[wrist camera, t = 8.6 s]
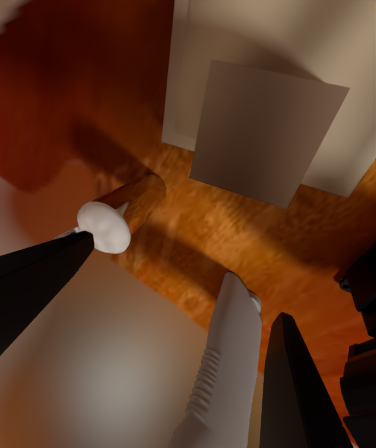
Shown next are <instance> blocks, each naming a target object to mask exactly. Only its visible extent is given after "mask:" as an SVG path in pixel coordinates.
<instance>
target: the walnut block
mask: <svg viewBox="0 0 376 448" xmlns="http://www.w3.org/2000/svg"><path fill="white" fill-rule="evenodd" d="M349 90H350V88H349V87H344V86H339V85H334V84H330V83H325V82H320V81H315V80H310V79H306V78H301V77H296V76H291V75H286V74H282V73H277V72H272V71H267V70H263V69H258V68H253V67H248V66H243V65H239V64H234V63H229V62H224V61H219V60H215V59H211V64H210V69H209V74H208V80H207V85H206V91H205V96H204V101H203V107H202V112H201V118H200V123H199V128H198V134H197V139H196V145H195V150H194V155H193V161H192V166H191V172H190V177H189V178H191V179H194V180H197V181H200V182H203V183H206V184H209V185H212V186H216V187H219V188H222V189H225V190H228V191H231V192H234V193H237V194H240V195H243V196H247V197H250V198H253V199H256V200H259V201H262V202H265V203H268V204H271V205H274V206H277V207H281V208H284V209H287V208H288V206H289V204H290V202H291V200H292V198H293V196H294V194H295V192H296V191H297V189H298V187H299V185H300V183H301V181H302V179H303V177H304V175H305V173H306V172H307V170H308V168H309V166H310V164H311V162H312V160H313V158H314V156H315V154H316V153H317V151H318V149H319V147H320V145H321V143H322V141H323V139H324V137H325V135H326V134H327V132H328V130H329V128H330V126H331V124H332V122H333V120H334V118H335V116H336V115H337V113H338V111H339V109H340V107H341V105H342V103H343V101H344V99H345V97H346V96H347V94H348V92H349Z"/></svg>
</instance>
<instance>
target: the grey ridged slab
mask: <svg viewBox="0 0 376 448" xmlns="http://www.w3.org/2000/svg"><path fill="white" fill-rule="evenodd" d="M260 310H261V301H260V299H259V298H258V296H256V295H255V294H254V293H252V292H250V291H249V290H248V288H247V287H246V286H245V284H244V283H243V281H242V280H241V279H240V277H239V276H238V275H236V274H235V273H233V272H230V271H228V272H227V273H225V276H224V279H223V283H222V286H221V289H220V292H219V295H218V299H217V302H216V305H215V308H214V312H213V315H212V318H211V322H210V325H209V331H208V337H207V344H206V349H205V350H204V355H203V356H202V360H201V365H200V368H199V371H198V374H197V376H196V380H195V382H194V388H193V389H192V394H191V395H190V398H189V399H190V401H189V403H187V406H186V408H185V418H184V419H183V420H182V422H181V423H180V424H179V426H177V428H176V429H175V430H174V432H173V435H172V438H171V440H170V443H169V446H168V448H247V440H248V428H249V419H250V412H251V405H252V397H253V392H254V387H255V382H256V376H257V367H258V358H259V349H260V339H261V330H262V319H261V316H260Z"/></svg>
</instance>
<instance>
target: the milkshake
mask: <svg viewBox="0 0 376 448" xmlns="http://www.w3.org/2000/svg"><path fill="white" fill-rule="evenodd" d="M165 197H166V186H165V184H164V183H163V181H162V179H161V178H159V177H158V176H156V175H154V174H144V175H142V176H140V177H138V178H136V179H134V180H132V181H130V182H129V183H127V184H125V185H123V186H121V187H119V188H117V189H115V190H113V191H111V192H109V193H107V194H105V195H103V196H101V197H99V198H97V199H95V200H93V201H91V202H89V203H86V204H84V205H83V206H82V208H81V209H80V210H79V212H78V215H77V220H78V224H79V226H78V227H76V228H74V229H72V230H70V231H68V232H66V233H64V234H62V235H60V236H58V237H56V238H55V239H58V238H61V237H64V236H68V235H71V234H74V233H77V232H81V231H88V232H91V233H92V234H93V236H94V244H95V246H94V248H96V249H98V250H100V251H102V252H107V253H121V252H123V251H124V250H126V248H127V247H128V246H129V244H130V243H131V242H132V240H133V239H134V237H135V236H136V235H137V233H138V232H139V231H140V229H141V228H142V226H143V225H144V224H145V222H146V221H147V220H148V219H149V217H150V216H151V215H152V213H153V212H154V211H155V210H156V208H157V207H158V206H159V205H160V203H161V202H162V201H163V200H164V198H165Z"/></svg>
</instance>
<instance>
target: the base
mask: <svg viewBox="0 0 376 448" xmlns="http://www.w3.org/2000/svg"><path fill="white" fill-rule="evenodd" d="M211 59H215V60H219V61H224V62H229V63H234V64H239V65H243V66H248V67H253V68H258V69H263V70H267V71H272V72H277V73H282V74H286V75H291V76H296V77H301V78H306V79H310V80H315V81H320V82H325V83H330V84H334V85H339V86H344V87H349V88H350V90H349V92H348V94H347V96H346V97H345V99H344V101H343V103H342V105H341V107H340V109H339V111H338V113H337V115H336V116H335V118H334V120H333V122H332V124H331V126H330V128H329V130H328V132H327V134H326V135H325V137H324V139H323V141H322V143H321V145H320V147H319V149H318V151H317V153H316V154H315V156H314V158H313V160H312V162H311V164H310V166H309V168H308V170H307V172H306V173H305V175H304V177H303V179H302V181H301V183H300V184H303V185H306V186H310V187H313V188H316V189H319V190H323V191H326V192H329V193H333V194H336V195H339V196H343V197H346V198H348V197H349V195H350V194H351V192H352V191H353V190H354V188H355V187H356V185H357V184H358V183H359V181H360V180H361V178H362V177H363V175H364V174H365V173H366V171H367V170H368V168H369V167H370V166H371V164H372V163H373V161H374V160H375V159H376V0H175V5H174V15H173V26H172V36H171V47H170V57H169V68H168V78H167V89H166V99H165V110H164V120H163V131H162V141H161V142H164V143H167V144H170V145H174V146H177V147H180V148H184V149H187V150H190V151H194V150H195V145H196V139H197V134H198V128H199V123H200V118H201V112H202V107H203V101H204V96H205V91H206V85H207V80H208V74H209V69H210V64H211Z"/></svg>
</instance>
